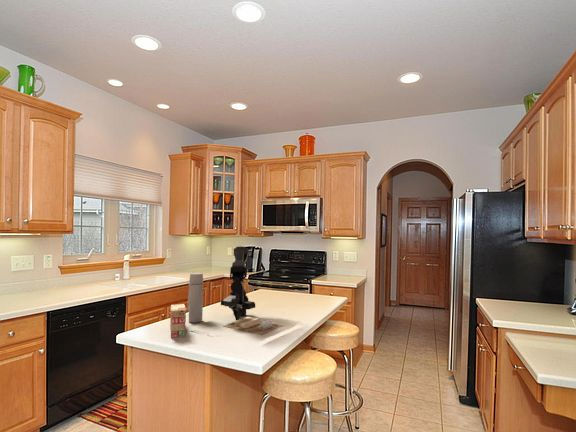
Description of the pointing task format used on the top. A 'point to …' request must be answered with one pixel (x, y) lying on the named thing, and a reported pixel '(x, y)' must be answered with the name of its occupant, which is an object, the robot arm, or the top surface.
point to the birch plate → (246, 322)
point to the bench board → (253, 328)
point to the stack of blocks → (177, 320)
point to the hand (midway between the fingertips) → (237, 320)
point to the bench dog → (266, 325)
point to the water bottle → (195, 297)
